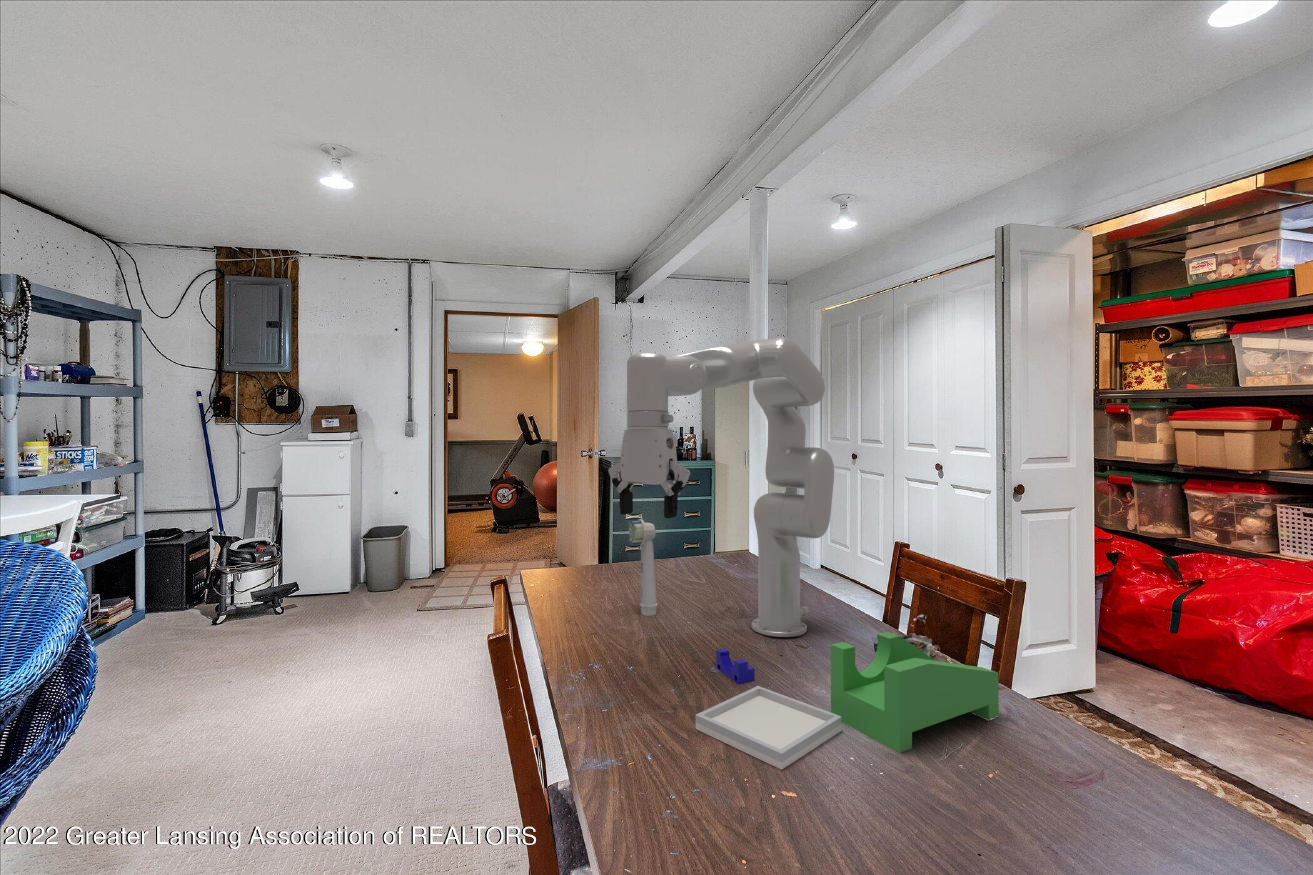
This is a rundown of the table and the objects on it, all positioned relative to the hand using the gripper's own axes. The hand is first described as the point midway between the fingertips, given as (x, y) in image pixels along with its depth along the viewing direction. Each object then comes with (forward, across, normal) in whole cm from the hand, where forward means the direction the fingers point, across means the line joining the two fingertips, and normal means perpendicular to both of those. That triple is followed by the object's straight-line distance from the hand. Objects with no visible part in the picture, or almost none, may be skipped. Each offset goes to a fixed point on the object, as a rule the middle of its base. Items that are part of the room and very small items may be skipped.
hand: (648, 515), depth 110 cm
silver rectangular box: (+32, -37, -39) cm, 62 cm away
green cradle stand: (+32, -43, -14) cm, 55 cm away
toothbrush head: (+32, +24, -34) cm, 52 cm away
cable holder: (+32, -11, -14) cm, 36 cm away
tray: (+31, -25, +3) cm, 40 cm away
